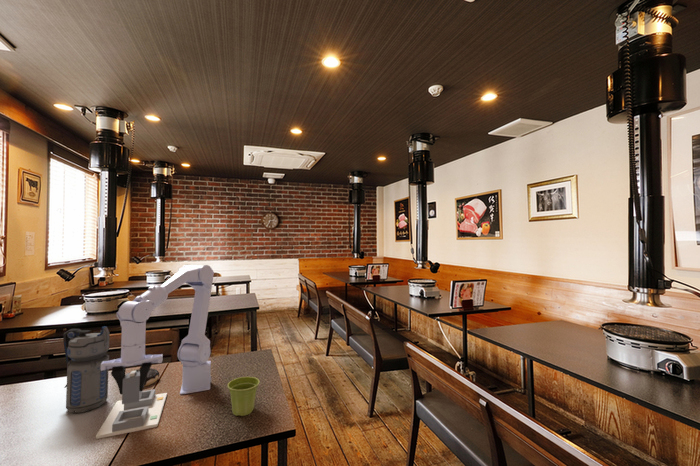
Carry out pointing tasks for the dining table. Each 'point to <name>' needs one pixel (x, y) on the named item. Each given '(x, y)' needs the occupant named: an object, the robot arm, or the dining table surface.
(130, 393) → the plug
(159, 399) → the panel
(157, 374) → the donut
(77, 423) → the dining table surface
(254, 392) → the plant pot
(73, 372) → the beverage bottle
